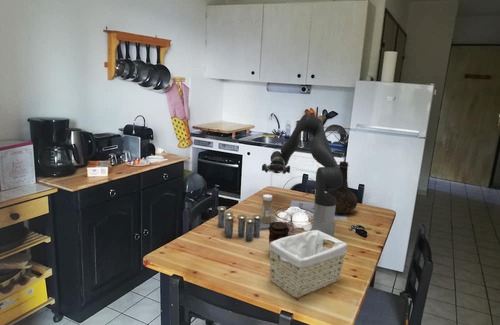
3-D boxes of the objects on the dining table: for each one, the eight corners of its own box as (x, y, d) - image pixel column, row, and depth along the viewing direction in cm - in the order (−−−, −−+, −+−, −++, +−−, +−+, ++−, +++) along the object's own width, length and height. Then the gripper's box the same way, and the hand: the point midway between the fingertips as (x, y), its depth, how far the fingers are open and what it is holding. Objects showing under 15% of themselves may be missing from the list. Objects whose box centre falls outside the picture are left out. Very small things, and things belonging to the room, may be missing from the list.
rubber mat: (284, 227, 176) (284, 225, 176) (259, 230, 171) (259, 228, 171) (272, 218, 188) (272, 216, 188) (249, 220, 183) (249, 218, 183)
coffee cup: (262, 251, 150) (264, 221, 148) (280, 248, 154) (282, 219, 151) (272, 261, 143) (274, 230, 140) (290, 258, 146) (293, 227, 143)
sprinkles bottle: (269, 224, 177) (270, 197, 174) (260, 222, 178) (261, 196, 175) (272, 221, 181) (273, 194, 178) (263, 219, 182) (264, 193, 179)
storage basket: (312, 262, 143) (315, 227, 140) (345, 281, 131) (350, 243, 128) (264, 280, 129) (267, 241, 126) (297, 303, 117) (300, 260, 113)
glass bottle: (358, 209, 207) (364, 161, 201) (353, 219, 191) (359, 167, 185) (326, 204, 214) (331, 157, 208) (319, 213, 198) (324, 162, 192)
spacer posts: (264, 240, 161) (266, 220, 158) (229, 244, 155) (230, 223, 153) (247, 222, 180) (248, 204, 178) (215, 225, 174) (216, 206, 172)
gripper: (264, 156, 197) (261, 162, 181) (291, 159, 195) (290, 165, 179) (263, 170, 198) (260, 177, 183) (290, 172, 197) (289, 180, 181)
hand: (275, 171), depth 181 cm, fingers open, 8 cm apart
